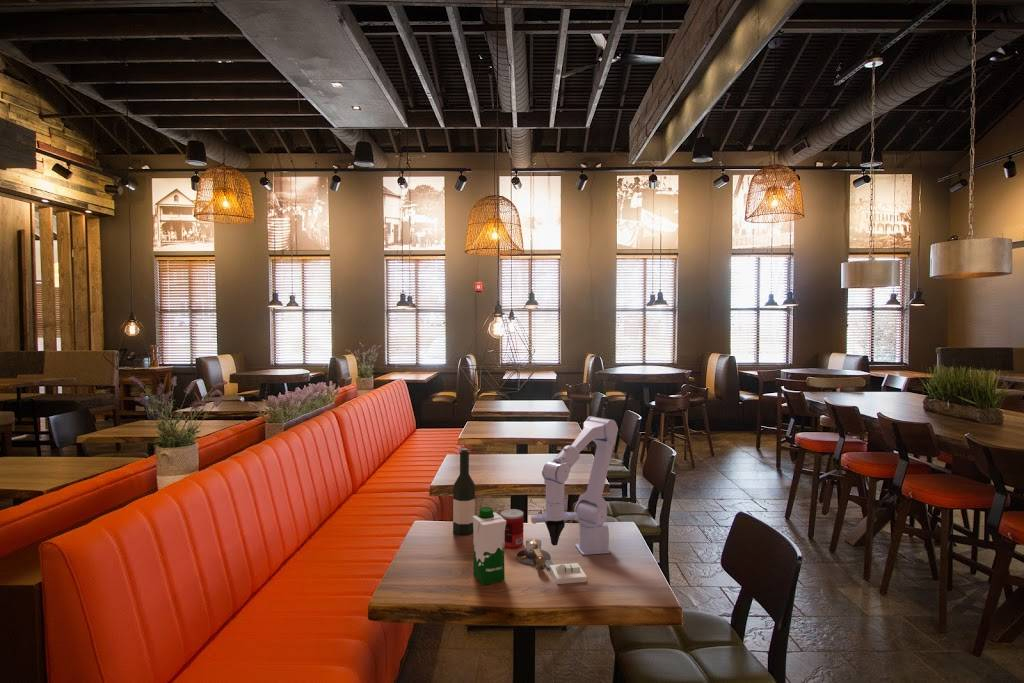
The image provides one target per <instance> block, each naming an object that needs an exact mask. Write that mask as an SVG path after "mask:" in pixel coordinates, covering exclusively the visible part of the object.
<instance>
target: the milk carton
mask: <svg viewBox="0 0 1024 683" xmlns="http://www.w3.org/2000/svg"><path fill="white" fill-rule="evenodd" d="M505 526H506V520H504V519H503V517H501V514H499V513H497V512H496V511H494V509H493V508H492V507H490V506H483V507H481V508H479V514H475V516H473V534H472V535H473V545H472V546H473V547H472V550H473V551H472V553H473V554H472V557H473V558H472V559H473V563H472V564H473V565H472V567H473V568H472V569H473V573H472V574H473V576H474V577H475V578H476V579H477V581H479V583H481V585H482V586H486V585H489V584H494V583H495V584H496V583H500V582H502V581H503V582H504V581H505V580H506V579H505V576H506V575H505V548H504V544H505Z"/></svg>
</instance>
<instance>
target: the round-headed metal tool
mask: <svg viewBox="0 0 1024 683" xmlns="http://www.w3.org/2000/svg"><path fill="white" fill-rule="evenodd" d="M525 549H526V557H528V558H531V559H534V561H535V563H536V565H537V566H536V570H540V571H543V570H545V569H546V567H545V557H544V556H543V555H542V553H541V550H542V540H540V539H537V538H528V539H527V540H526V541H525Z"/></svg>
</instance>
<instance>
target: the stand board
mask: <svg viewBox="0 0 1024 683" xmlns="http://www.w3.org/2000/svg"><path fill="white" fill-rule="evenodd" d="M548 571H549V572H550V573H551V575H552V576H551V577H553V579H554V582H555V583H556V585H562V584H563V585H564V584H573V583H574V584H576V583H585V582H587V581H588V576H587V575H586V573H585V572H584V570H583V569H582V567H581V566H580V564H579V562H574V563H560V564H553V565H549V570H548ZM587 583H588V582H587Z"/></svg>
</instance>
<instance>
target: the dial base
mask: <svg viewBox="0 0 1024 683" xmlns="http://www.w3.org/2000/svg"><path fill="white" fill-rule="evenodd" d="M541 553H542V555H543V556H544V557H545V569H546V570H547V571H550V570H549V565H554V563H553V561H552V560H551V558H552V557H551V554H550V553H549V552H548V551H547V550H544V549H541ZM516 560H517V562H519V563H520V564H523V565H526V566H534V567H535V566H536V567H537V565H536V563H535V561H534V559H531V558H528V557H526V548H525V549H522V550H520V551H518V552H517V553H516Z"/></svg>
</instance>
